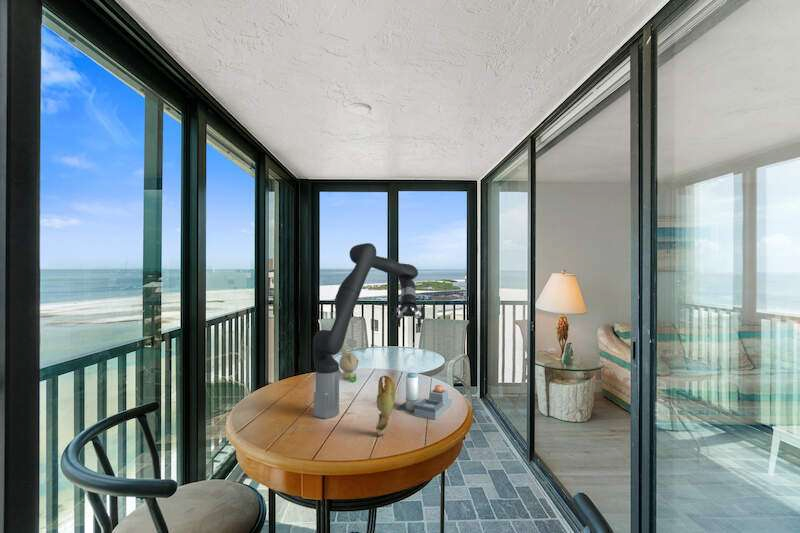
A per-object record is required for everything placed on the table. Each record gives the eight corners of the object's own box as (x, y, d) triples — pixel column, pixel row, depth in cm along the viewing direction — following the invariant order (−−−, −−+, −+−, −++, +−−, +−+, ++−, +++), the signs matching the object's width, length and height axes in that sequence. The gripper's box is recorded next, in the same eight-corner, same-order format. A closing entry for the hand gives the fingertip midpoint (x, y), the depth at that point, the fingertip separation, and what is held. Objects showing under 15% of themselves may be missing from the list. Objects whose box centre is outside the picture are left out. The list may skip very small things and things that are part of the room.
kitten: (363, 380, 186) (363, 352, 187) (346, 383, 181) (346, 354, 182) (352, 374, 199) (351, 347, 200) (335, 376, 194) (335, 349, 194)
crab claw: (396, 433, 124) (396, 375, 125) (391, 439, 119) (390, 379, 120) (378, 430, 127) (378, 373, 127) (372, 436, 122) (372, 377, 122)
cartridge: (414, 411, 143) (414, 376, 144) (403, 408, 146) (403, 374, 146) (419, 407, 148) (420, 373, 148) (409, 404, 150) (409, 371, 151)
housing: (435, 419, 135) (435, 403, 135) (414, 415, 140) (414, 400, 140) (451, 405, 150) (451, 391, 150) (432, 401, 154) (431, 387, 155)
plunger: (440, 394, 148) (440, 387, 148) (433, 392, 149) (433, 386, 149) (443, 391, 150) (443, 385, 150) (436, 390, 152) (436, 384, 152)
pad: (416, 413, 141) (416, 413, 141) (395, 409, 146) (395, 408, 146) (427, 405, 150) (427, 405, 150) (406, 401, 155) (406, 401, 155)
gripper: (393, 293, 167) (393, 320, 156) (423, 293, 167) (425, 320, 156) (393, 303, 173) (393, 331, 161) (423, 303, 172) (424, 330, 161)
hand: (409, 325), depth 158 cm, fingers open, 8 cm apart
